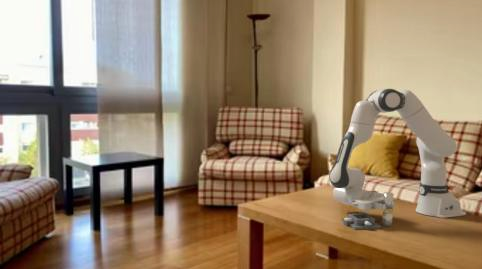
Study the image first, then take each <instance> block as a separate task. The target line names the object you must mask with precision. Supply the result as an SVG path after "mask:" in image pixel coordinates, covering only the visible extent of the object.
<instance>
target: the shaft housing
mask: <svg viewBox="0 0 482 269" xmlns="http://www.w3.org/2000/svg"><path fill="white" fill-rule="evenodd" d="M347 215H348V216H347V217H343V218H341V221H342V222H343V225H344V226H346V227H351V228H352V229H353V230H365V231H369V230H370V231H373V230H375V229H382V224H379V223H378V222H376V218H374V217H373V216H371V215H370V214H367V213H366V212H365V213H348V214H347Z"/></svg>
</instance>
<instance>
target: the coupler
mask: <svg viewBox="0 0 482 269" xmlns="http://www.w3.org/2000/svg"><path fill="white" fill-rule="evenodd" d="M383 194H384V200H383V204H385V205H387V209H382V224H381V226H384V227H392V226H393V213H394V207H393V203H394V193H393V192H387V191H385V192H383Z"/></svg>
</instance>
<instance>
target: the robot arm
mask: <svg viewBox="0 0 482 269" xmlns="http://www.w3.org/2000/svg"><path fill="white" fill-rule="evenodd" d="M395 111H396V112H397V113H398V114H399V115H400V117H401V118H402V119H403V121H404V123H406V125H407V127H408V128H409V130H410V131H411V133H413V134H414V135H415V136H417V138H416V139H415V140H416V146H417V148H418V151H419V152H418V153H419V158H420V164H421V167H420V168H421V171H420V173H421V174H420V182H419V190H418V191H419V197H418V202H417V206H416V208H415V212H417V213H418V214H421V215H425V216H431V217H438V218H441V219H442V218H445V219H447V218H454V217H462V216H466V215H467V213H466V211H464V210H463V209H462V206H461V202H460V200H459V199H457V197H455V195H453V194H451V193H450V191H453V190H454V186H453V185H448V184H447V174H448V173H447V172H448V171H447V170H448V169H447V166H446V164H445V161H444V158H447V157H451V156H453V155H454V154H455V152H456V151H457V148H458V147H457V142H456V140H455V139H454V138H453V137H452V136H450V134H448V132H447V131H446V130H445V129H444V128H443V127H442V126H441V125H440V124H439V123H438V122H437V121H436V120H435V118H433V116H432V115H431V114H430V112H429V110H428V109H427V108H426V107H425V105H424V103H422V101H421V100H420V99H419V97H418V96H417V95H416V94H415V93H414V92H413V91H411V90H410V89H403V90H401V91H398V90H396V89H395V88H382V89H379V90H374V91H373V92H371V93H370V94H369V96H368V97H367V98H366V99H365V100H360V101H357V103H356V104H355V105H354V108H353V111H352V113H351V118H350V123H349V126H348V130H347V131H346V133H345V134H344V136H343V137H342V139H341V142H340V145H339V148H338V150H337V154H336V157H335V161H334V164H333V166H332V167H331V169H330V171H329V174H328V176H329V181H330V183H331V185H332V186H333V191H332V194H333V198H334V200H336V201H337V202H338V203H340V204H343V205H346V206H349V207H350V206H352V207H354V208H356V209H357V210H361V211H363V212H364V211H366V212H368V211H372V210H376V209H377V210H379V209H380V210H383V209H387V205H385V204H383V200H384V193H381V192H379V191H378V190H367V189H363V188H364V185H365V173H364V172H363V170H362V169H360V168H358V167H348V166H349V162H350V159H351V157H352V154H353V150H354V149H355V148H356V147H357V146H360V145H361V144H362V145H363V144H364V143H367V142H368V141H369V140H370V139H372V137H373V134H374V132H375V131H374V130H375V124H376V119H377V117H378V115H379V114H380V113H381V114H382V113H385V114H386V113H391V112H392V113H393V112H395ZM395 206H396V204H395V203H394V202H393V208H395Z"/></svg>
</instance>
